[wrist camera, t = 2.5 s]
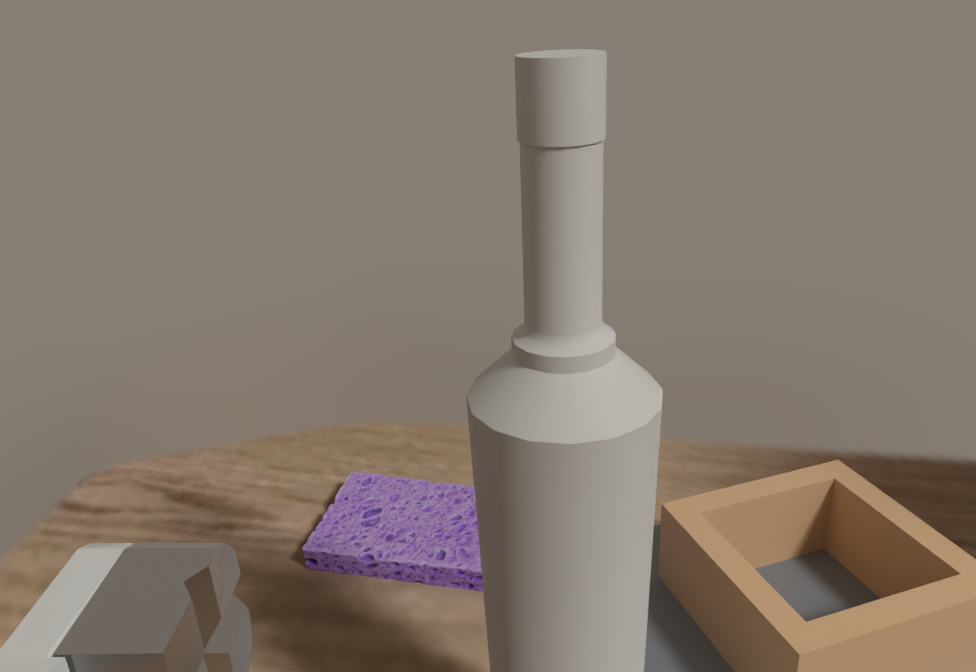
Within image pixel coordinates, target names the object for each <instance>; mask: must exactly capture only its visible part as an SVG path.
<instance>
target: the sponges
mask: <svg viewBox="0 0 976 672" xmlns="http://www.w3.org/2000/svg"><path fill="white" fill-rule="evenodd" d="M302 551H303V554H304V558H307V559H306V562H305V564H306V567H307V568H308V569H309V570H320V571H327V572H334V573H346V574H350V575H359V576H369V577H376V578H384V579H389V580H390V579H395V580H398V581H406V582H417V581H418V582H420V583H422V584H428V585H435V586H445V587H455V588H460V589H471V590H477V591H483V581H482V569H481V558H480V547H479V535H478V524H477V512H476V501H475V489H474V486H467V485H461V484H452V483H441V484H433V483H431V481H425V480H419V479H408V478H402V477H396V478H393V477H387V476H385V475H379V474H368V473H361V472H359V473H358V472H351V473H350V474H349V476H348V477H347V479H346V481H345V482H344V484H343V485H342V486H341V488H340V490H339V491H338V493H337V494H336V496H335V502H334V504H331V505H329V508H328V509H327V511H326V513H325V514H324V515H323V519H322V522H320V523H319V524H318V526H317V527H316V530H315V531H313V532H312V533H311V535H310V537H309V538H308V540H307V543H306V544H305V545H304V546H303V547H302Z"/></svg>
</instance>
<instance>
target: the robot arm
mask: <svg viewBox="0 0 976 672" xmlns="http://www.w3.org/2000/svg"><path fill="white" fill-rule="evenodd" d="M240 575H241V572H240V568H239V564H238V560H237V556H236V553H235V549H234V548H233V547H231V546H230V545H229V544H227V543H139V542H137V543H135V544H132V543H90V544H88V545H85V546H83V547H81V548H79V549H77V550H76V551H75V553H74V554H73V555H72V556H71V558H70V559H69V560H68V562H67V563H66V564H65V566H64V567H63V568H62V569H61V571H60V572H59V573H58V575H57V576H56V577H55V579H54V580H53V581H52V582H51V584H50V585H49V586H48V588H47V589H46V590H45V591H44V593H43V594H42V595H41V597H40V598H39V599H38V601H37V602H36V603H35V604H34V606H33V607H32V608H31V610H30V611H29V612H28V613H27V615H26V616H25V617H24V619H23V620H22V621H21V623H20V624H19V625H18V626H17V628H16V629H15V630H14V632H13V633H12V634H11V635H10V637H9V638H8V639H7V641H6V642H5V643H4V645H3V646H2V647H1V648H0V672H249V666H250V660H251V653H252V626H251V621H250V615H249V610H248V607H247V606H246V605H245V604H244V603H242V602H241V601H240V600H239V599H238V598H237V597H236V596H235V595H234V594H233V591H234V589H235V587H236V584H237V582H238V580H239V578H240Z"/></svg>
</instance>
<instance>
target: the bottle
mask: <svg viewBox="0 0 976 672" xmlns="http://www.w3.org/2000/svg"><path fill="white" fill-rule="evenodd" d="M606 74H607V51H603V50H591V49H571V50H548V51H536V52H527V53H521V54H517V55H515V85H516V116H517V141H518V142H520V169H521V205H522V242H523V243H522V244H523V279H524V316H525V322H524V324H522V325H521V326H519V327H518V328H516V329H515V330H514V333H513V335H512V337H511V342H512V348H511V349H510V350H508V351H507V352H506V353H505V354H504V355H503V356H501V357H500V358H499V359H498V360H497V361H496V362H494V363H493V364H492V365H491V366H490V367H488V368H487V369H486V370H485V371H484V372H483V373H481V374H480V375H479V376H478V377H477V378H476V379H475V380H474V382H473V384H472V386H471V388H470V390H469V392H468V394H467V396H466V398H467V409H468V421H469V432H470V444H471V455H472V467H473V478H474V489H475V501H476V512H477V524H478V535H479V547H480V558H481V569H482V581H483V592H484V604H485V615H486V627H487V638H488V649H489V661H490V672H644V663H645V648H646V634H647V619H648V604H649V589H650V574H651V560H652V545H653V530H654V515H655V501H656V486H657V471H658V456H659V442H660V427H661V426H660V425H661V412H662V392H663V390H662V388H661V387H660V386H659V385H658V383H657V382H656V381H655V380H654V379H653V377H652V376H651V375H650V374H649V373H648V372H647V371H646V370H644V369H643V368H642V367H641V366H639V365H638V364H637V363H636V362H634V361H633V360H632V359H631V358H630V357H628V356H627V355H626V354H624V353H623V352H622V351H621V350H620V349H618V348H617V347H616V333H615V332H614V331H613V329H612V328H611V327H610V326H609V325H607V324H605V323H603V320H602V269H603V266H602V264H603V263H602V262H603V260H602V259H603V140H605V137H606V80H607V79H606V77H607V75H606Z"/></svg>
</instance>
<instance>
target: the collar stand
mask: <svg viewBox="0 0 976 672" xmlns="http://www.w3.org/2000/svg"><path fill="white" fill-rule="evenodd" d="M644 672H976V559H975V558H973V557H972V556H971V555H969V554H968V553H966V552H965V551H964V550H962V549H961V548H960V547H958V546H957V545H955V544H954V543H953V542H951V541H950V540H949V539H947V538H946V537H944V536H943V535H942V534H940V533H939V532H937V531H936V530H935V529H933V528H932V527H931V526H929V525H928V524H926V523H925V522H924V521H922V520H921V519H920V518H918V517H917V516H915V515H914V514H913V513H911V512H910V511H908V510H907V509H906V508H904V507H903V506H902V505H900V504H899V503H897V502H896V501H895V500H893V499H892V498H891V497H889V496H888V495H886V494H885V493H884V492H882V491H881V490H879V489H878V488H877V487H875V486H874V485H873V484H871V483H870V482H868V481H867V480H866V479H864V478H863V477H862V476H860V475H859V474H857V473H856V472H855V471H853V470H852V469H850V468H849V467H848V466H846V465H845V464H844V463H842V462H841V461H839V460H835V461H831V462H827V463H823V464H819V465H815V466H811V467H807V468H803V469H799V470H795V471H791V472H787V473H783V474H779V475H775V476H771V477H767V478H763V479H759V480H755V481H751V482H747V483H743V484H739V485H735V486H731V487H727V488H723V489H719V490H715V491H711V492H707V493H703V494H699V495H695V496H691V497H687V498H683V499H679V500H675V501H671V502H667V503H663V504H662V508H661V525H659V526H655V527H654V530H653V545H652V560H651V574H650V589H649V604H648V619H647V634H646V648H645V663H644Z"/></svg>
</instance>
